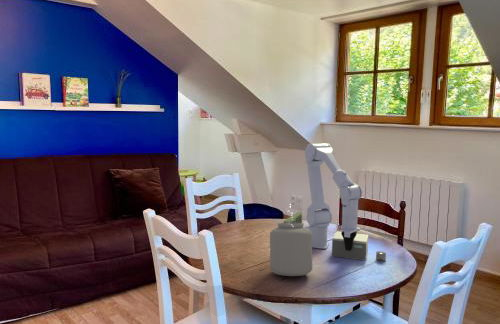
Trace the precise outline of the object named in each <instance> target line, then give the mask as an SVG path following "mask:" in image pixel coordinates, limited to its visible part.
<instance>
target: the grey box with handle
mask: <svg viewBox="0 0 500 324" xmlns="http://www.w3.org/2000/svg"><path fill="white" fill-rule="evenodd" d="M331 241H332V242H331V257H335V256H336V258H337V257H338V258H343V257H345V259H351V258H353V260H359V259H361V261H366V260H367V257H366V243H362V242H353V246H352V249H351V251H348V250H346V249H345V243H344V240H335V239H333V238H332V240H331Z"/></svg>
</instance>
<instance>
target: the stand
mask: <svg viewBox="0 0 500 324" xmlns="http://www.w3.org/2000/svg"><path fill="white" fill-rule="evenodd" d="M386 258H387V252H384V251H382V250H381V251H380V250H379V251H376V253H375V261H377V262H379V263H384V262H386Z"/></svg>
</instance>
